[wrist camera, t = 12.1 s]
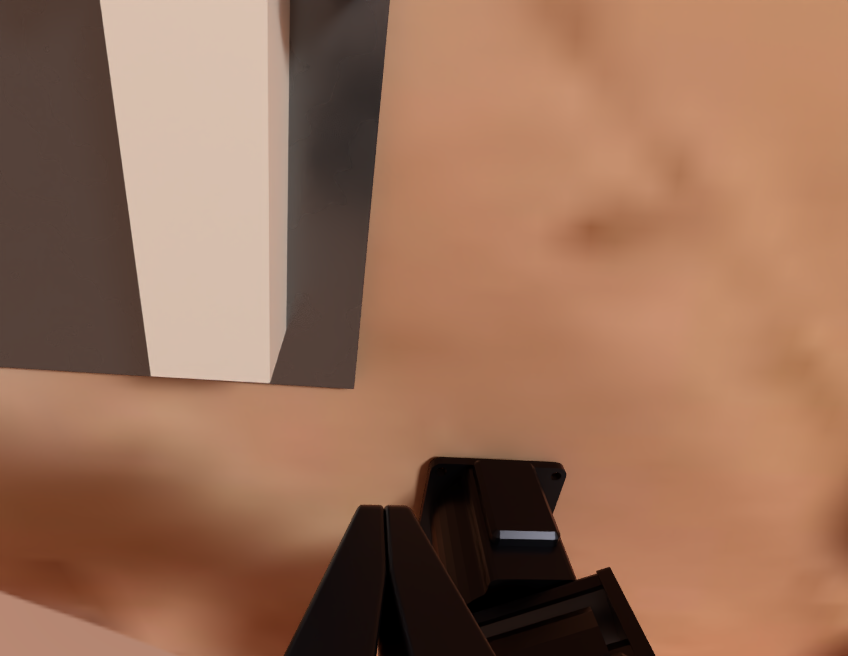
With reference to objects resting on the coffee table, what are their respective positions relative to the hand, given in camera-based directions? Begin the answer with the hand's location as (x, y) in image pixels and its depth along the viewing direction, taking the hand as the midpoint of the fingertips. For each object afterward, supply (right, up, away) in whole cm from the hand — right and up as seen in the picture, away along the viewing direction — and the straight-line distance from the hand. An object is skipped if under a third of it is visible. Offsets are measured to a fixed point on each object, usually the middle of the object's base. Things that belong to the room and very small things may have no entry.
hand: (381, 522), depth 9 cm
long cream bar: (-5, +11, +6) cm, 13 cm away
